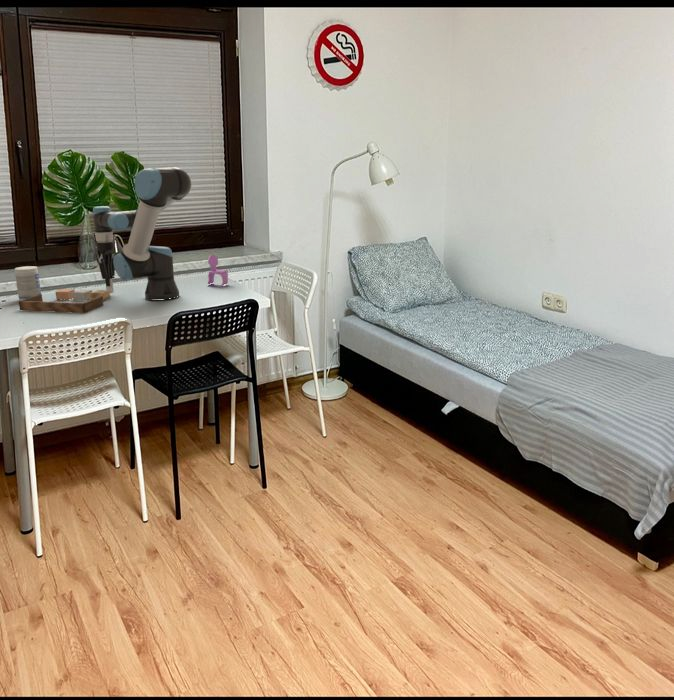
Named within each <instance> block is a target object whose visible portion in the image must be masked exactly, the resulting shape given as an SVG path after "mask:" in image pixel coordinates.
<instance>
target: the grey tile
mask: <svg viewBox="0 0 674 700" xmlns="http://www.w3.org/2000/svg"><path fill="white" fill-rule="evenodd" d="M91 292H93V289H78V290H75V291H74V292H73V299H72V300H73V301H74V300H87V301H89V300H88V299H90V300H91V297H90V293H91Z"/></svg>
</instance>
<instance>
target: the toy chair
mask: <svg viewBox="0 0 674 700" xmlns="http://www.w3.org/2000/svg"><path fill="white" fill-rule="evenodd" d="M207 262H208V264H209V265H210V266H209V267H210V271H208V274H207V276H208V280H207V284H210V283H213V282H214V283H215V276H216V275H220V277H221V279H222V283H221V286H222V285H224V284H227V283H228V284H229V281H228V280H229V273H228V270H226V269H217V266H218V265H219V259H218V257H217V256H216V255H214V254H211V255H209V257H208V261H207Z"/></svg>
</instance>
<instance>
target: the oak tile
mask: <svg viewBox="0 0 674 700" xmlns="http://www.w3.org/2000/svg"><path fill="white" fill-rule="evenodd" d="M99 296H103V302H106V301H108V300H107V299H109V300H111V293H110V291H108V290H105V289H104V290H103V289H97V290H92V292H91V293H90V297H91V299H90V300H92V299H94V298H97V297H99ZM105 300H106V301H105Z"/></svg>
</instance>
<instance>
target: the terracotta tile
mask: <svg viewBox="0 0 674 700" xmlns="http://www.w3.org/2000/svg"><path fill="white" fill-rule="evenodd" d="M74 291H76V290H75V288H73V289H72V288H60V289H58V290H55V298H56V299H65V300H64V301H70V300H69V299H71V300H73V299H72V298H73V292H74Z"/></svg>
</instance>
